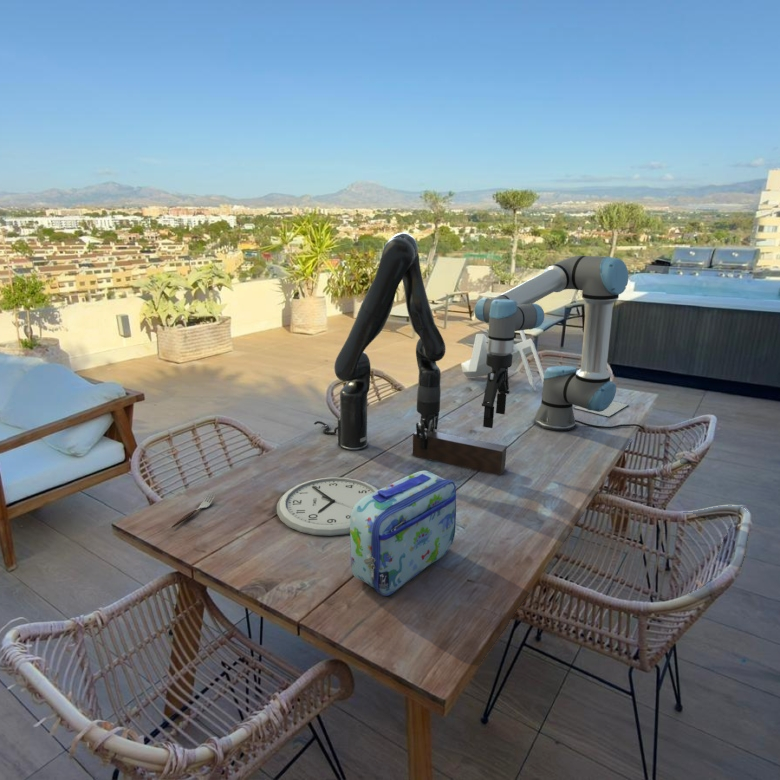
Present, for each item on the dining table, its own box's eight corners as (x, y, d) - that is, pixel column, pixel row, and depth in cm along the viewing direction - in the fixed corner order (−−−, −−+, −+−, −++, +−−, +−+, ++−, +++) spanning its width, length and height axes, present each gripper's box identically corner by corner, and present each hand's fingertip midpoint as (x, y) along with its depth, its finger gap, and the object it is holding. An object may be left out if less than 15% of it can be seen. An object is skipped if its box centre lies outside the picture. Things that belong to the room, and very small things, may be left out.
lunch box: (378, 608, 104) (379, 516, 98) (343, 583, 112) (342, 495, 105) (459, 554, 122) (465, 473, 116) (425, 535, 129) (428, 458, 123)
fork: (167, 528, 130) (166, 521, 130) (209, 498, 145) (208, 492, 144) (175, 530, 130) (174, 523, 129) (216, 500, 144) (216, 494, 143)
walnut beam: (504, 469, 166) (506, 445, 164) (500, 475, 162) (502, 451, 160) (418, 450, 179) (419, 428, 177) (412, 455, 175) (413, 433, 172)
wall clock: (392, 527, 129) (268, 531, 127) (391, 533, 130) (269, 537, 127) (383, 473, 158) (282, 475, 155) (383, 478, 158) (282, 480, 156)
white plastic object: (482, 419, 265) (461, 396, 241) (463, 346, 287) (443, 319, 263) (553, 395, 253) (539, 368, 228) (528, 321, 275) (513, 290, 250)
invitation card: (608, 416, 214) (573, 407, 224) (608, 416, 214) (573, 408, 224) (628, 404, 229) (594, 396, 238) (628, 405, 229) (594, 397, 238)
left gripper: (426, 390, 177) (424, 437, 182) (408, 402, 165) (407, 451, 170) (447, 393, 174) (445, 441, 179) (430, 406, 161) (428, 456, 166)
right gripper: (498, 343, 167) (493, 406, 173) (474, 360, 145) (469, 431, 152) (522, 346, 163) (516, 410, 170) (500, 363, 142) (494, 435, 148)
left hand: (426, 446), depth 174 cm, fingers closed on walnut beam, 5 cm apart
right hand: (494, 420), depth 161 cm, fingers open, 13 cm apart
